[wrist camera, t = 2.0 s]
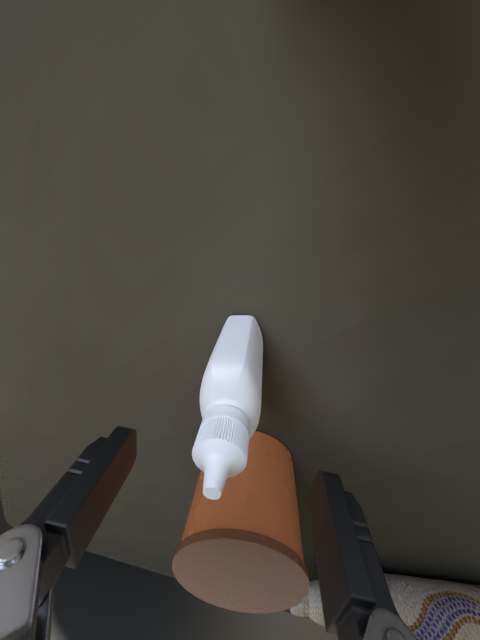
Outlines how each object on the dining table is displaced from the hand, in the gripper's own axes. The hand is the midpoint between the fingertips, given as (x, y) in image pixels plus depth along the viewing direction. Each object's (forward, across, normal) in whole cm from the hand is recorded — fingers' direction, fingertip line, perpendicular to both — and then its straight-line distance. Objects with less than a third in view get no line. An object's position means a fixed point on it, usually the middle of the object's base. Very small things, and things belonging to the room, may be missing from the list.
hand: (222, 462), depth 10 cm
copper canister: (+11, -3, +14) cm, 18 cm away
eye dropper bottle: (+11, 0, 0) cm, 11 cm away
